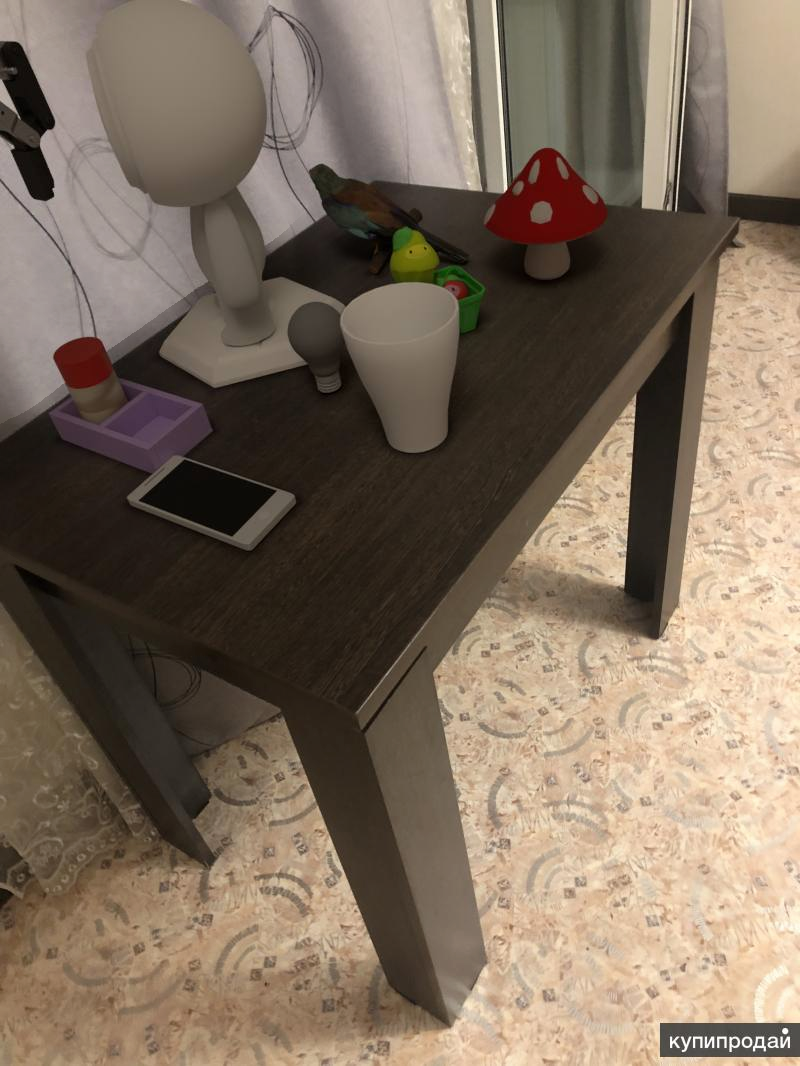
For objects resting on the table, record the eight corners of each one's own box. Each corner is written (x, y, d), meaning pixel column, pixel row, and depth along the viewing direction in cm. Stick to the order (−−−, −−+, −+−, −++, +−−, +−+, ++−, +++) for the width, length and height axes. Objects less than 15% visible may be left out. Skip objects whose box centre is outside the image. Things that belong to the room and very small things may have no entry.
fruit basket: (399, 364, 90) (384, 268, 82) (369, 330, 96) (352, 237, 88) (490, 331, 92) (484, 235, 84) (455, 299, 98) (446, 207, 90)
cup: (457, 393, 84) (445, 272, 75) (482, 455, 77) (471, 328, 67) (358, 415, 84) (333, 295, 74) (373, 478, 76) (347, 355, 67)
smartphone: (250, 552, 71) (247, 544, 71) (127, 504, 78) (124, 497, 78) (298, 501, 75) (296, 493, 75) (177, 460, 82) (174, 453, 82)
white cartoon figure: (158, 318, 105) (37, 2, 80) (330, 275, 107) (264, -45, 82) (164, 401, 90) (20, 49, 66) (363, 350, 92) (294, -10, 68)
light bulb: (320, 369, 91) (301, 287, 84) (367, 377, 89) (351, 294, 82) (292, 400, 87) (270, 317, 80) (340, 409, 85) (321, 324, 78)
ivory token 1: (98, 418, 83) (86, 393, 81) (67, 407, 86) (54, 383, 83) (133, 391, 86) (123, 367, 84) (102, 381, 88) (91, 357, 86)
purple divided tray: (159, 476, 81) (147, 449, 78) (61, 439, 88) (47, 413, 86) (213, 431, 85) (203, 403, 83) (115, 398, 92) (103, 372, 90)
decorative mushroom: (478, 304, 96) (469, 176, 86) (496, 249, 106) (490, 127, 95) (600, 304, 93) (606, 170, 82) (608, 247, 102) (614, 121, 92)
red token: (87, 393, 81) (74, 368, 79) (55, 382, 83) (42, 357, 81) (123, 367, 84) (112, 341, 82) (91, 357, 86) (80, 332, 84)
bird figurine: (483, 237, 107) (390, 100, 98) (461, 275, 101) (359, 132, 92) (409, 281, 116) (318, 159, 107) (384, 319, 109) (285, 192, 101)
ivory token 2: (109, 441, 85) (98, 418, 83) (78, 429, 88) (67, 407, 86) (143, 414, 88) (133, 391, 86) (112, 404, 90) (102, 381, 88)
